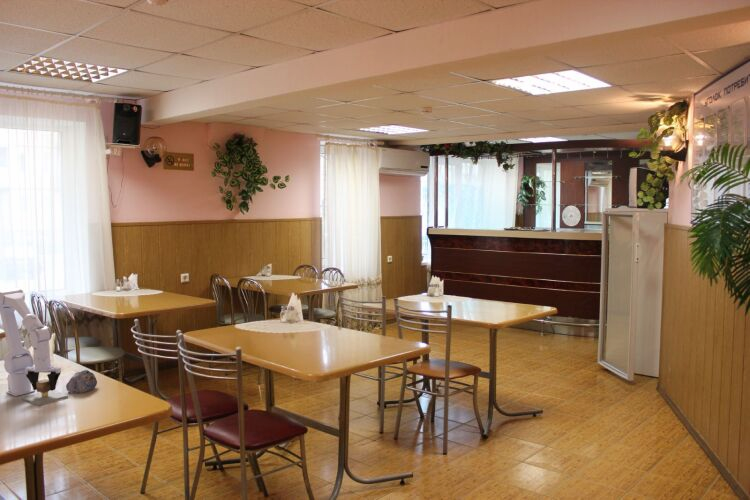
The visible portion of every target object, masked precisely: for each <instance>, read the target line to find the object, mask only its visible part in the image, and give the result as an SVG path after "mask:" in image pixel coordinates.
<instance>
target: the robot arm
mask: <svg viewBox="0 0 750 500" xmlns="http://www.w3.org/2000/svg"><path fill="white" fill-rule="evenodd" d="M25 298H26V295H25V293H24V290H23V289H22V288H20V287H17V288H11V289H5V290H0V319H1V322H2V326H3V331H4V334H5V335H4V336H5V338H6V342H7V343H6V344H7V347H8V351H7V352H6V353H5V355H4V356H3V362H4V365H3V366H4V369H5V371H6V373H8V374H7V388H8V389H7V390H6V392H5V393H7V394H9V395H11V396H14V397H18V396H22V395H26V394H30V393H34V392H35V391H37V386H36V382H38V381H39V376H40V373H48V374H47V375H46V377H47V378H48V379H47V380H49V382H50V390H51V391H53V390H55V391H56V387H57V383H58V379H59V377H60V375H61V372H62V367H61V366H52V364H51V350H50V341H51V339H52V336H53V335H52V330H51V328H50V327H49V326H46V325H44V324H43V323H42V321H41V320H40V319H39V317H38V316H37V315H36V314H33V313H32V312H31V310H30V308H29V307H28V305H27V303H26V302H25ZM15 311H16V312H17V313H18V315H19V316H20V317H21V318H22V325H23V326H24V328H25V329H26V331H27V332H28V333H29V336H28V338H29V340H30V343H31V347H32V348H33V356H32V353H31V351H30V350H29V349H27V348H25V347H24V346H23V343H22V338H21V334H20V329H19V327H18V322H17V318H16V314H15Z"/></svg>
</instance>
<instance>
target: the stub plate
mask: <svg viewBox="0 0 750 500" xmlns="http://www.w3.org/2000/svg"><path fill="white" fill-rule="evenodd" d="M65 399H69V395H68V394H66V393H63V392H60V391H57V390H56V389H55V390H53V391H51V390H50V391H47V392H44V393H42V392H36V393H32V394H29V395H25V396H22V397H21V400H22V401H25V402H27V403H30V404H32V405H34V406H38V407H40V406H43V405H46V404H51V403H54V402H58V401H61V400H65Z"/></svg>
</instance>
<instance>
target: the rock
mask: <svg viewBox="0 0 750 500" xmlns="http://www.w3.org/2000/svg"><path fill="white" fill-rule="evenodd" d="M95 375H96V374H94V373H93V372H91V371H90V370H88V369H84V370H81V371H76V372H75V373H74V374H73V376H71V377H70V379H69V380H68V382H67V383H66V385H65V388H66V391H67V392H70V393H71V394H75V393H78V394H79V393H85V392H90V391H93V390H94V389H95V388H96V386H97V384H98V379H97V378H96V376H95Z"/></svg>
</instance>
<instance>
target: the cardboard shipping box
mask: <svg viewBox="0 0 750 500" xmlns="http://www.w3.org/2000/svg"><path fill="white" fill-rule="evenodd" d="M36 386H37V390H36V393H40V392H42V393H44V392H47V391H50V382H49V379H45V378H44V379H41V380H38V382H36Z"/></svg>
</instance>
